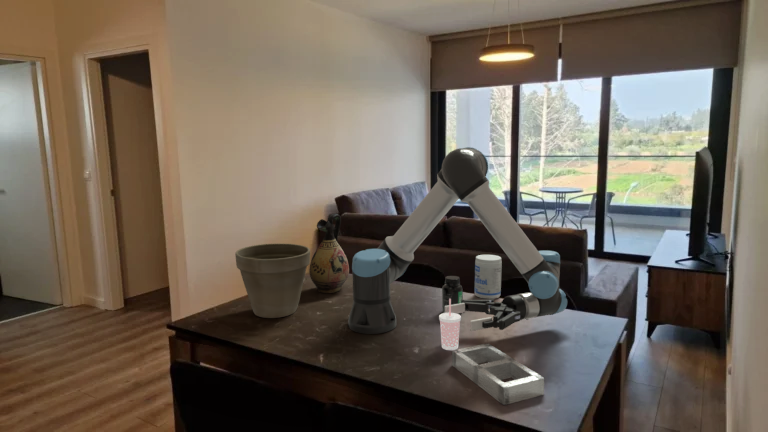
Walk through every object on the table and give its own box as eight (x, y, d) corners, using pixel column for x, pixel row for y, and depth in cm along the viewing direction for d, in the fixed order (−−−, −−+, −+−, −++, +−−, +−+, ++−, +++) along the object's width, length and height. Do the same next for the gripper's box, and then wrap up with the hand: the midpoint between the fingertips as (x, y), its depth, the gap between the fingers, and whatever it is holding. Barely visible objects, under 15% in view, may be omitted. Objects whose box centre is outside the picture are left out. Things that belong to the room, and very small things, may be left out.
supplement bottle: (465, 314, 169) (465, 279, 167) (446, 316, 167) (446, 281, 166) (458, 308, 176) (458, 274, 174) (439, 309, 174) (439, 275, 172)
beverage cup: (438, 342, 146) (438, 295, 144) (460, 342, 145) (460, 295, 143) (439, 351, 140) (438, 302, 138) (461, 351, 139) (461, 302, 137)
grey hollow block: (452, 365, 131) (452, 350, 130) (488, 357, 135) (488, 343, 135) (503, 405, 111) (503, 387, 110) (543, 394, 115) (544, 378, 115)
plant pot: (327, 309, 177) (325, 248, 174) (269, 330, 158) (266, 262, 155) (281, 296, 193) (279, 240, 190) (224, 313, 174) (220, 251, 171)
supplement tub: (469, 296, 188) (470, 257, 186) (482, 290, 195) (482, 253, 193) (493, 301, 182) (493, 261, 180) (505, 295, 189) (506, 256, 187)
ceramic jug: (333, 298, 189) (330, 218, 185) (302, 292, 198) (298, 215, 193) (359, 286, 203) (357, 212, 199) (329, 281, 212) (327, 210, 207)
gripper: (548, 333, 139) (482, 347, 131) (494, 307, 162) (435, 317, 154) (549, 307, 138) (483, 319, 130) (494, 284, 161) (435, 293, 153)
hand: (457, 318), depth 142 cm, fingers open, 13 cm apart
